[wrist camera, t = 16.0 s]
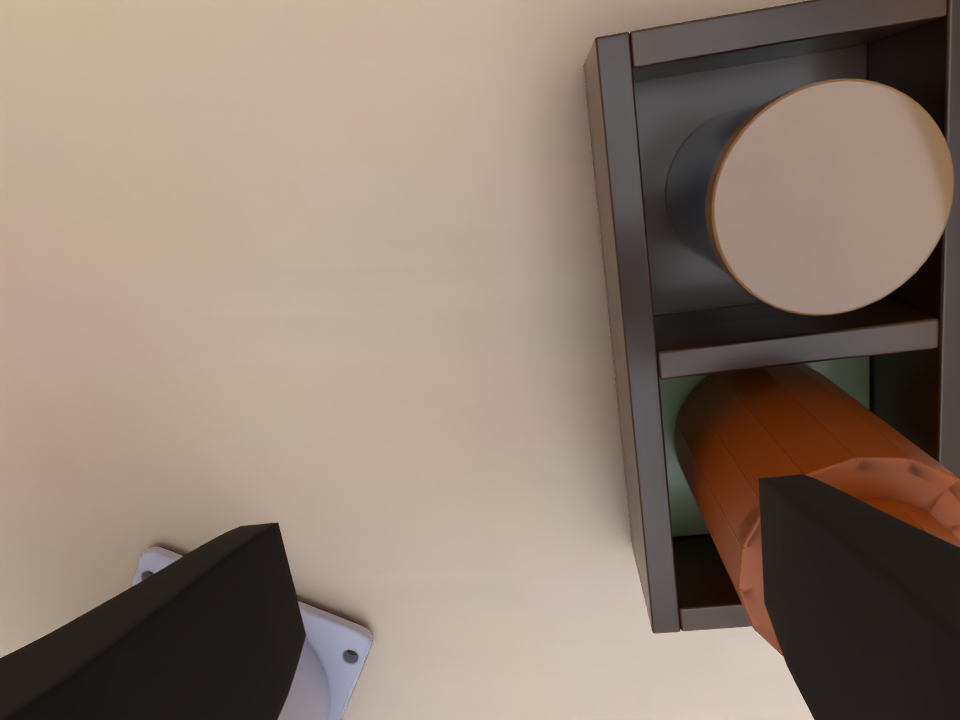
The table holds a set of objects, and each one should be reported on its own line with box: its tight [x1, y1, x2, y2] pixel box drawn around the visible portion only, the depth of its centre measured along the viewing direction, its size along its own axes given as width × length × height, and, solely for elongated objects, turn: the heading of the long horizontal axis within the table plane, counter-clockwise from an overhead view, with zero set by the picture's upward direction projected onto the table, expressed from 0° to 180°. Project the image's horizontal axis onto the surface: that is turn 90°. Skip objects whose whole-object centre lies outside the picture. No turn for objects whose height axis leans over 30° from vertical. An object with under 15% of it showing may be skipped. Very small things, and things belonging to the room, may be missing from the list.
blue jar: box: [666, 78, 954, 316], centre depth 15 cm, size 4×4×6 cm
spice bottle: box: [674, 364, 960, 656], centre depth 16 cm, size 5×5×8 cm
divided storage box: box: [583, 0, 960, 633], centre depth 18 cm, size 7×14×4 cm, turn 8°
